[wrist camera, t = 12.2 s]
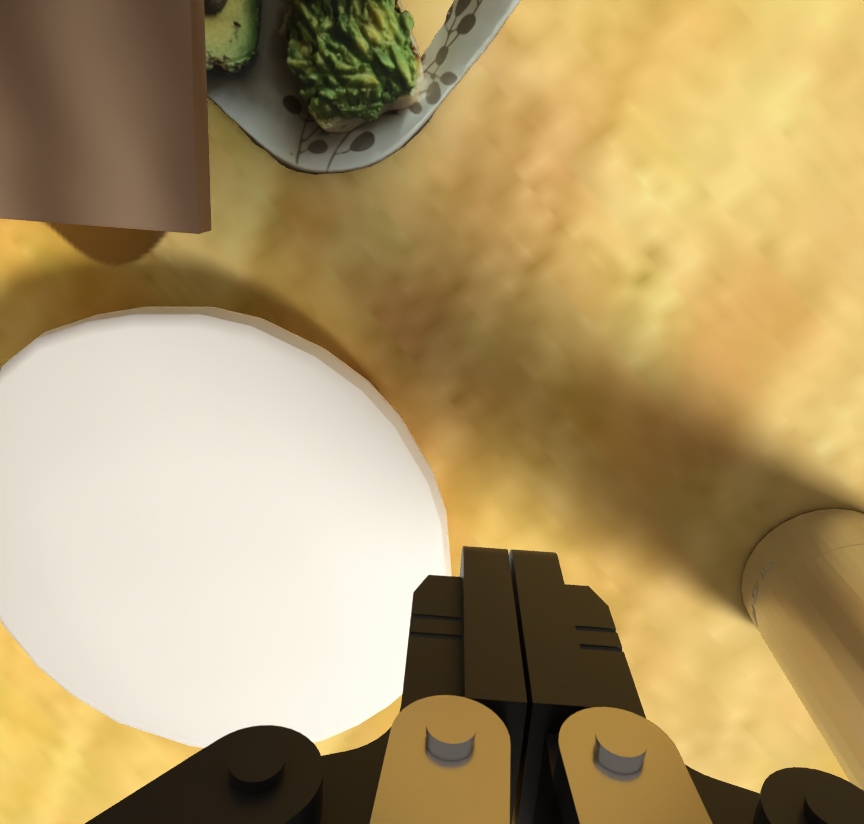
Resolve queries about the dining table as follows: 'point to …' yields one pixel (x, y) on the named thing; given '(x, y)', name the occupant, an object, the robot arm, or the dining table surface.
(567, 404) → the dining table surface
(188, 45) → the overhang shelf
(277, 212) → the dining table surface
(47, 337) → the white round disc
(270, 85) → the salad plate
